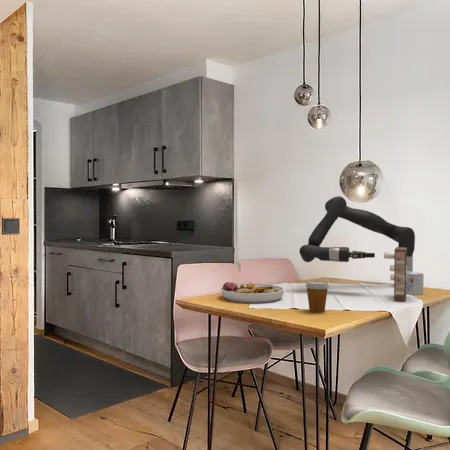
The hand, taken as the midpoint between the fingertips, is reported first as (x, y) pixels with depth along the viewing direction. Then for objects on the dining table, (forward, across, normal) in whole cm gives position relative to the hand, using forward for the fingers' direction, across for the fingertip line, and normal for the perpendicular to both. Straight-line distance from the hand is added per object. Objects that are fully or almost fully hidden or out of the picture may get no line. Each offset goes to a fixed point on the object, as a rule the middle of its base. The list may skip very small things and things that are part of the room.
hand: (374, 255), depth 241 cm
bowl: (-54, -30, +20) cm, 65 cm away
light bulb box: (+17, +13, +20) cm, 29 cm away
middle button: (+11, -10, +6) cm, 16 cm away
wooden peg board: (+12, -5, +20) cm, 24 cm away
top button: (+8, 0, +1) cm, 8 cm away
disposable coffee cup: (-19, -49, +20) cm, 56 cm away
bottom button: (+11, -5, +11) cm, 17 cm away
